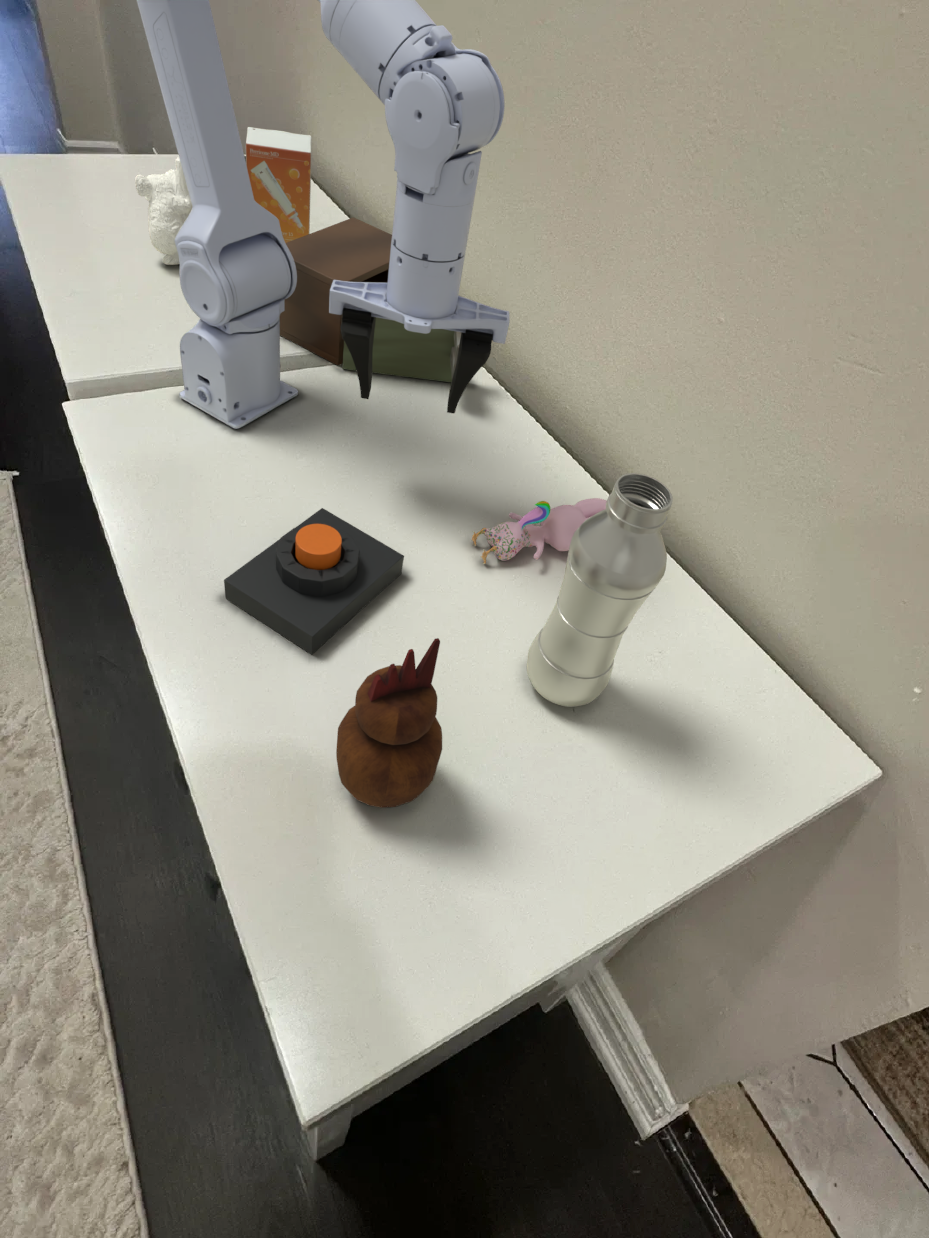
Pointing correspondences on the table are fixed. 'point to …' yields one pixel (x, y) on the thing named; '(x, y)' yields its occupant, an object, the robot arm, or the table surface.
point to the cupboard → (330, 281)
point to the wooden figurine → (392, 734)
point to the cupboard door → (411, 352)
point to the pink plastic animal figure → (539, 528)
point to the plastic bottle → (601, 591)
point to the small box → (281, 177)
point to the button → (318, 546)
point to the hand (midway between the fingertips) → (408, 400)
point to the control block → (313, 584)
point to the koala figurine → (166, 208)
